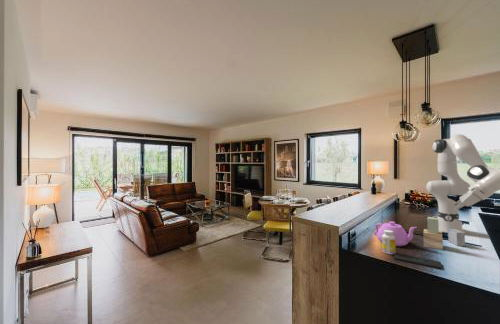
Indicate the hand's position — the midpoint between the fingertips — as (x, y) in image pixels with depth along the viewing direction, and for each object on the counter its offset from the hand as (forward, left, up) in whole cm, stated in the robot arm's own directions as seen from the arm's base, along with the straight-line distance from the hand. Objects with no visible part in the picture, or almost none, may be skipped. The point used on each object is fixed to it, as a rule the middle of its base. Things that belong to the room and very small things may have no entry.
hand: (455, 207), depth 130 cm
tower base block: (-1, -11, -26) cm, 28 cm away
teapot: (+8, -30, -26) cm, 41 cm away
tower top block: (-1, -11, -22) cm, 24 cm away
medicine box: (-14, +1, -26) cm, 30 cm away
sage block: (0, -10, -17) cm, 20 cm away
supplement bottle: (+29, -30, -26) cm, 49 cm away
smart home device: (+33, -17, -27) cm, 46 cm away
